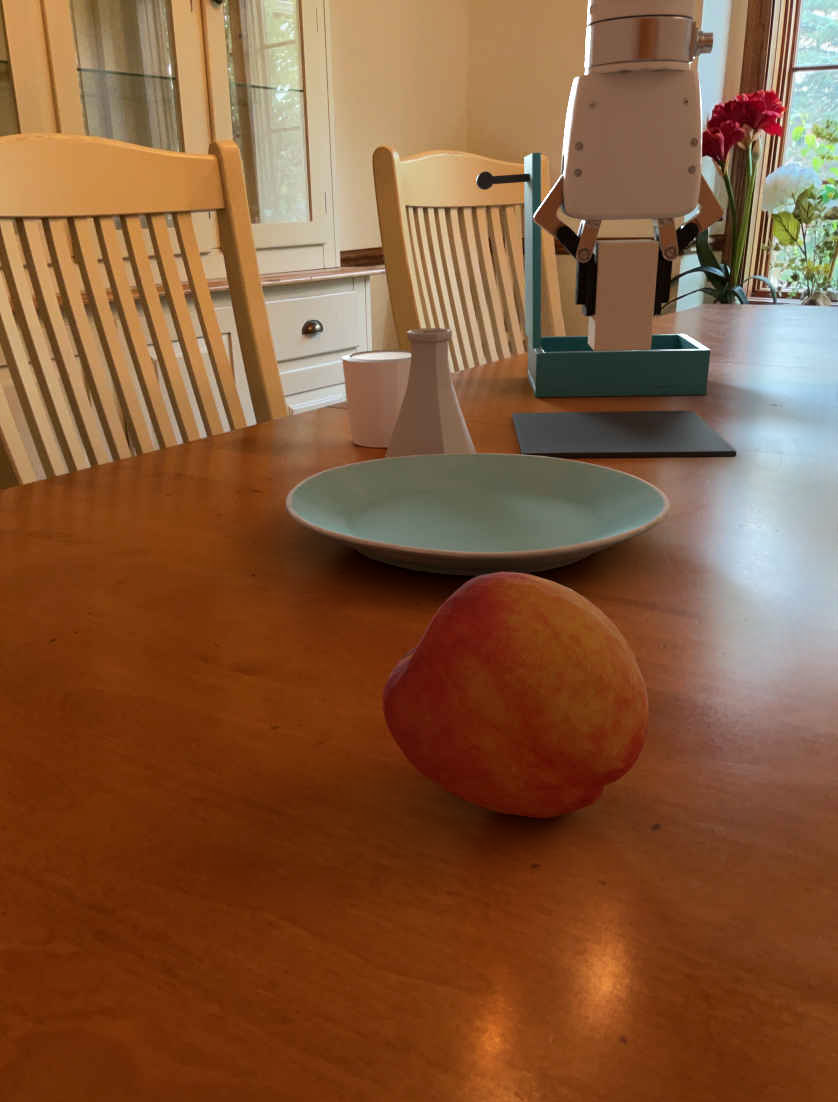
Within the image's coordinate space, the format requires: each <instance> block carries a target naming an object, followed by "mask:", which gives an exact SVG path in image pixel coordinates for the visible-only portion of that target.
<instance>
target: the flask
mask: <svg viewBox="0 0 838 1102" xmlns="http://www.w3.org/2000/svg"><path fill="white" fill-rule="evenodd" d="M452 336H453V329H450V328H439V327H431V328H430V327H429V328H427V327H426V328H425V327H423V328H415V329H409V330H408V331H407V332H406V339H407V341H408V342H410V351H411V365H410V372H409V378H408V385H407V389H406V393H405V396H404V399H403V402H402V406H401V409H400V412H399V416H398V419H397V422H396V425H395V428H394V431H393V434H392V437H391V440H390V443H389V446H388V447H387V449H386V452H385V455H384V458H392V457H402V456H413V455H429V454H454V453H477V451H476V448H475V445H474V442H473V439H472V437H471V435H470V432H469V429H468V425H467V424H466V420H465V419H464V415H463V412H462V408H461V406H460V403H459V400H458V396H457V393H456V390H455V387H454V385H453V384H454V383H453V379H452V372H451V367H450V361H449V340H450V339H451V338H452Z"/></svg>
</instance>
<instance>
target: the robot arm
mask: <svg viewBox="0 0 838 1102" xmlns="http://www.w3.org/2000/svg"><path fill="white" fill-rule="evenodd" d="M696 2H697V0H587V16H586V17H587V18H586V36H585V55H584V57H585V58H584V59H585V60H584V74H583V75H579V76H576V77H574V78H573V82H572V85H571V90H570V94H569V99H568V104H567V111H566V115H565V125H564V134H563V135H564V136H563V143H562V152H561V153H562V154H561V164H560V167H561V168H560V176H559V178H558V179H557V181H556V182H555V184H554V185H553V187H552V188H551V189H550V191H549V193H548V194H547V195H546V197H545V198H544V199H543V201H541V205H540V207H539V208H538V210H537V211H536V212H535V214H534V216H533V219H534V222H535V223H536V224H538V225H539V226H540V227H541V229H543V230H544V231H545V232H547V233H548V234H549V235H551V236H552V237H553V238H555V240H557V241H558V243H560V244H561V246H563V248H564V249H565V250H566V251H567V252H568V253H569V254H570V255H571V256H572V257H573V258H574V260H575V261H576V267H575V268H576V270H575V288H574V289H575V290H574V304H575V305H576V306H580V305H581V313H582V314H583V316H584V317H589V316H593V315H595V303H596V286H597V268H598V266H597V264H596V263H595V254H594V253H593V250H594V246H595V243H596V241H597V239H598V235H599V232H600V228H601V224H602V221H623V220H651V225H652V226H651V227H652V232H653V239H654V241H658V242H659V249H658V262H657V275H656V288H655V301H654V314H653V316H661V315H662V307H663V304H668V303H669V302H670V297H671V285H672V273H673V262H674V260H676V259H677V258H678V256H679V254H681V252H683V251H684V249H686V248H687V247H688V246H689V245H690V243H692V242H693V241H694V240H695V239H696V238H697V237H698V235H700V234H701V233H703V232H705V231H706V230H707V229H709V228H710V227H711V226H713V225H714V224H716V223H717V222H718V221H720V220H721V219H722V218H723V217H724V213H725V212H724V208H723V206H722V204H721V203H720V202H719V200H718V197H716V195H715V193H714V192H713V190H712V188H711V186H710V185H709V183H708V182H707V180H706V178H705V176H704V175H703V172H702V166H703V165H702V163H703V162H702V161H703V160H702V159H703V108H702V107H703V106H702V93H701V92H702V91H701V81H700V73H699V71H698V70H695V69H694V70H693V69H691V63H693V61H694V59H695V58H696V57H700V56H701V55H702V54H703V55H705V54H711V53H712V51H713V47H714V32H711V31H710V32H704V31H703V30H699V27H697V20H695V15H696V5H697V4H696ZM559 208H560V211H561V212H562V214H564V215H565V216H567V217H568V218H572V219H577V220H581V221H580V224H579V227H578V230H577V231H578V232H577V233H576V232H575V231H574V230H573V229H572V228H571V227H570V226H569V225H567V224H566V223H565V222H564V221H562V220H561V219H560V218H559V217H558V215H557V213H558V210H559ZM696 208H697V212H696V213H695V215H693V216H692V217H691V218H690V219H688V220H687V221H685V222H683V223H682V224H681V225H680V226H679V227H678V228H677V229H676V222H675V218H682V217H684V216H687V215H689V214H690V213H692V212H694V211H695V210H696Z"/></svg>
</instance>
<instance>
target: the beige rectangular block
mask: <svg viewBox="0 0 838 1102" xmlns="http://www.w3.org/2000/svg"><path fill="white" fill-rule="evenodd" d="M658 249H659V242H658V241H655V240H653V239H649V238H642V239H640V238H639V239H606V240H605V239H604V240H602V239H600V240H599V239H598V240H596V243H595V246H594V250H593V253H594V254H595V263H596V264H597V266H598V268H597V286H596V303H595V315H593V316H588V327H587V329H588V331H587V332H588V333H587V336H588V344H589V346H590V347H591V348H592V349H593V350H594V351H626V350H651V340H652V334H653V327H654V326H653V325H654V315H653V314H654V301H655V288H656V275H657V262H658Z"/></svg>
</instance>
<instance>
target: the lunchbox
mask: <svg viewBox="0 0 838 1102" xmlns="http://www.w3.org/2000/svg"><path fill="white" fill-rule="evenodd" d="M527 342H528V343H527V345H528V346H527V352H528V353H527V374H526V375H527V376H526V377H527V379H528V382H529V384H530V388H531V390H532V393H533V395H534V397H535V398H589V397H592V398H593V397H595V398H596V397H597V398H598V397H649V396H650V397H651V396H652V397H653V396H654V397H657V396H661V397H662V396H706V395H707V392H708V380H709V371H710V359H711V349H710V348H708V347H706V346H705V345H703V344H702V343H700V342H698V341H697V340H695V339H694V338H692V337H690V336H689V335H687V334H685V333H652V340H651V350H626V351H594V350H593V349H592V348H591V347H590V346H589V344H588V335H558V336H557V335H556V336H554V335H553V336H551V335H550V336H541V348H534V349H533V348H532V346H531V344H530V342H529V340H528V341H527Z"/></svg>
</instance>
